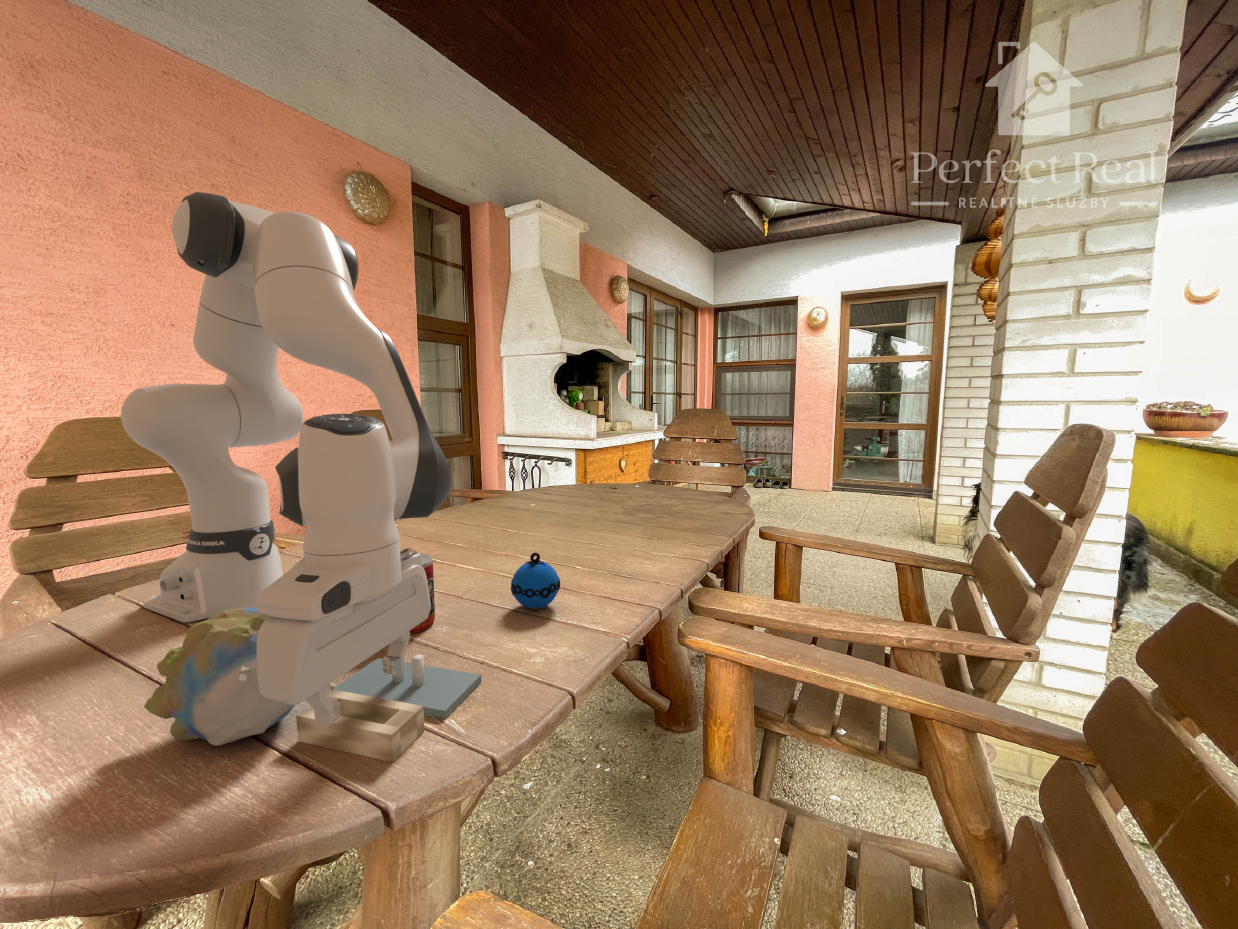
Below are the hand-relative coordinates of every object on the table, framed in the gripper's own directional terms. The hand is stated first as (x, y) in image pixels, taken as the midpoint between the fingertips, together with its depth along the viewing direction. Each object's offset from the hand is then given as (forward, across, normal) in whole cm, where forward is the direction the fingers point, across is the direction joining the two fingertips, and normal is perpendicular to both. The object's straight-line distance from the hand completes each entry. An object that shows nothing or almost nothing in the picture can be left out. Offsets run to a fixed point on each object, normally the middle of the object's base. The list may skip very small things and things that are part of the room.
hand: (364, 694), depth 54 cm
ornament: (+5, -37, +4) cm, 37 cm away
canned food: (+5, -25, -13) cm, 29 cm away
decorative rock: (+5, +2, -16) cm, 17 cm away
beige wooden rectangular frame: (+5, 0, -1) cm, 5 cm away
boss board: (+5, -9, -2) cm, 10 cm away
